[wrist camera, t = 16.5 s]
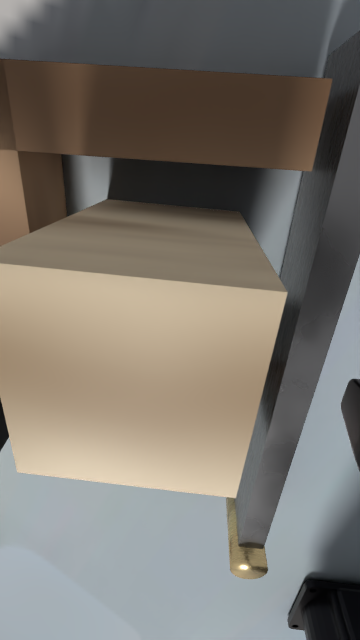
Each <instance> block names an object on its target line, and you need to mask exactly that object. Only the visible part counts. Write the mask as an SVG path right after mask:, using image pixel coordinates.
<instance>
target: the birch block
mask: <svg viewBox="0 0 360 640" xmlns="http://www.w3.org/2000/svg"><path fill="white" fill-rule="evenodd" d="M287 293H288V292H287V290H286V289H285V287H284V285H283V284H282V282H281V280H280V279H279V277H278V275H277V274H276V272H275V270H274V269H273V267H272V265H271V264H270V262H269V260H268V259H267V257H266V255H265V254H264V252H263V250H262V249H261V247H260V245H259V244H258V242H257V240H256V238H255V237H254V235H253V233H252V232H251V230H250V228H249V227H248V225H247V223H246V222H245V220H244V218H243V217H242V215H241V213H240V212H238V211H228V210H217V209H206V208H196V207H185V206H175V205H164V204H153V203H143V202H132V201H122V200H111V199H106V200H104V201H102V202H100V203H97V204H95V205H93V206H91V207H88V208H86V209H84V210H82V211H79V212H77V213H75V214H73V215H70V216H68V217H66V218H63V219H61V220H59V221H57V222H54V223H52V224H50V225H48V226H45V227H43V228H41V229H39V230H36V231H34V232H32V233H30V234H27V235H25V236H23V237H21V238H18V239H16V240H14V241H12V242H9V243H7V244H5V245H3V246H0V398H1V402H2V407H3V411H4V415H5V420H6V424H7V429H8V433H9V437H10V442H11V446H12V451H13V455H14V459H15V464H16V468H17V472H19V473H27V474H36V475H44V476H53V477H61V478H69V479H78V480H86V481H95V482H103V483H112V484H120V485H129V486H137V487H145V488H154V489H162V490H171V491H179V492H188V493H196V494H204V495H213V496H221V497H230V498H236V495H237V492H238V488H239V484H240V480H241V476H242V472H243V468H244V464H245V460H246V456H247V452H248V448H249V444H250V440H251V436H252V432H253V428H254V424H255V420H256V416H257V412H258V408H259V404H260V400H261V396H262V392H263V388H264V384H265V380H266V376H267V372H268V368H269V364H270V361H271V357H272V353H273V349H274V345H275V341H276V337H277V333H278V329H279V325H280V321H281V317H282V313H283V309H284V305H285V301H286V297H287Z"/></svg>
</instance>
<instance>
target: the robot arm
mask: <svg viewBox="0 0 360 640" xmlns="http://www.w3.org/2000/svg"><path fill="white" fill-rule="evenodd" d="M341 410H342V414H343V418H344V421H345V425H346V429H347V432H348V436H349V440H350V443H351V447H352V451H353V454H354V457H355V460H356V463H357V466H358V468H359V471H360V379H351V380H350V381H349V383H348V385H347V388H346V391H345V393H344V396H343V399H342V402H341ZM8 438H9V433H8V429H7V424H6V420H5V415H4V411H3V407H2V402H1V398H0V451H1V449H2V448H3V446H4V444H5V443H6V441H7V439H8ZM288 626H289V628H291V629H297V630H305V635H306V640H360V586H359V585H350V584H341V583H333V582H324V581H315V580H309V581H306V582H305V583H304V585H303V587H302V589H301V591H300V593H299V595H298V597H297V600H296V602H295V604H294V606H293V608H292V610H291V613H290V615H289V617H288Z"/></svg>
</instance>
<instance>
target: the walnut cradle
mask: <svg viewBox="0 0 360 640" xmlns="http://www.w3.org/2000/svg"><path fill="white" fill-rule="evenodd" d="M332 80H333V79H328V78H311V77H294V76H278V75H261V74H244V73H228V72H211V71H194V70H178V69H161V68H145V67H128V66H111V65H95V64H78V63H61V62H45V61H28V60H11V59H0V246H3V245H5V244H7V243H9V242H12V241H14V240H16V239H18V238H21V237H23V236H25V235H27V234H30V233H32V232H34V231H36V230H39V229H41V228H43V227H45V226H48V225H50V224H52V223H54V222H57V221H59V220H61V219H63V218H66V217H67V210H66V200H65V189H64V179H63V168H62V158H61V154H71V155H85V156H99V157H113V158H127V159H142V160H156V161H170V162H184V163H199V164H213V165H227V166H241V167H256V168H270V169H284V170H298V171H312V168H313V164H314V159H315V155H316V151H317V146H318V142H319V137H320V133H321V129H322V124H323V120H324V115H325V111H326V107H327V102H328V98H329V93H330V89H331V84H332ZM252 433H253V432H252ZM251 437H252V436H251ZM250 441H251V440H250Z"/></svg>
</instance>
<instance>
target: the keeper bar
mask: <svg viewBox="0 0 360 640" xmlns="http://www.w3.org/2000/svg"><path fill="white" fill-rule="evenodd" d="M324 78H328V79H333V80H332V84H331V89H330V93H329V98H328V102H327V107H326V111H325V115H324V120H323V124H322V129H321V133H320V137H319V142H318V146H317V151H316V155H315V159H314V164H313V168H312V171H303V176H302V180H301V185H300V190H299V194H298V199H297V203H296V208H295V212H294V217H293V221H292V226H291V231H290V235H289V240H288V244H287V249H286V253H285V258H284V262H283V267H282V272H281V276H280V280H281V282H282V284H283V285H284V287H285V289H286V290H287V292H288V293H287V297H286V301H285V305H284V309H283V313H282V317H281V321H280V325H279V329H278V333H277V337H276V341H275V345H274V349H273V353H272V357H271V361H270V364H269V368H268V372H267V376H266V380H265V384H264V388H263V392H262V396H261V400H260V404H259V408H258V412H257V416H256V420H255V424H254V428H253V433H252V437H251V441H250V444H249V448H248V452H247V456H246V460H245V464H244V468H243V472H242V476H241V480H240V484H239V488H238V492H237V495H236V498H230V497H227V498H226V506H227V523H228V540H229V557H230V570H231V572H232V573H233V574H234V575H235V576H237V577H240V578H243V579H256V578H260V577H262V576H264V575H265V574H266V573H267V571H268V567H267V560H266V554H265V547H264V545H265V542H266V539H267V536H268V533H269V529H270V526H271V523H272V520H273V517H274V514H275V511H276V508H277V505H278V502H279V499H280V496H281V493H282V490H283V487H284V484H285V481H286V478H287V475H288V471H289V468H290V465H291V462H292V459H293V456H294V453H295V450H296V447H297V444H298V441H299V438H300V435H301V432H302V429H303V426H304V423H305V420H306V417H307V413H308V410H309V407H310V404H311V401H312V398H313V395H314V392H315V389H316V386H317V383H318V380H319V377H320V374H321V371H322V368H323V365H324V362H325V358H326V355H327V352H328V349H329V346H330V343H331V340H332V337H333V334H334V331H335V328H336V325H337V322H338V319H339V316H340V313H341V310H342V307H343V304H344V300H345V297H346V294H347V291H348V288H349V285H350V282H351V279H352V276H353V273H354V270H355V267H356V264H357V261H358V258H359V255H360V31H359V32H357V33H356V34H355V35H354V36H352V37H351V38H350V39H349V40H348V41H346V42H345V43H344V44H343V45H341V46H340V47H339V48H338V49H336V50H335V51H334V52H333V53H331V54H330V55H329V57H328V62H327V66H326V71H325V76H324Z"/></svg>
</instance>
